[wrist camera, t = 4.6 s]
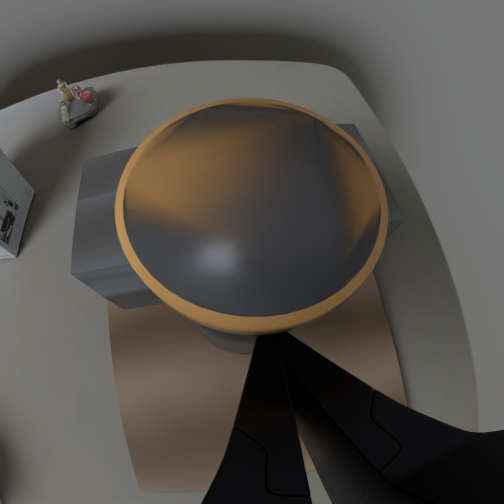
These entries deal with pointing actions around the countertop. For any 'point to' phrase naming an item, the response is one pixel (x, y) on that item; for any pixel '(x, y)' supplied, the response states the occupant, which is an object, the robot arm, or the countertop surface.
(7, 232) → the light bulb box
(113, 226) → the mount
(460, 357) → the countertop surface
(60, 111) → the figurine
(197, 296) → the gray cup
